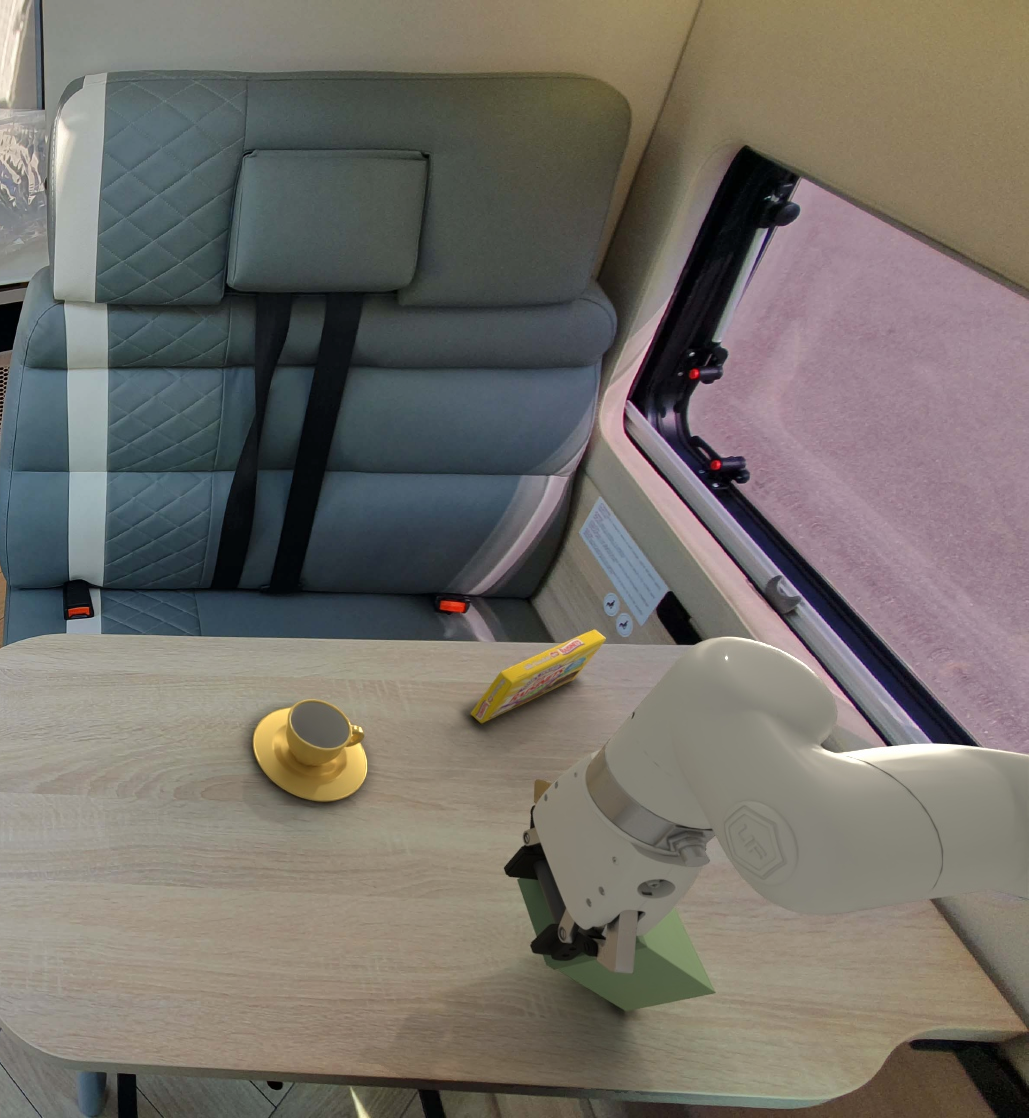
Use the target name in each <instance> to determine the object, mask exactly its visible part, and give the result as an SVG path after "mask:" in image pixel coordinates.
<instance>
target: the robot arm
mask: <svg viewBox="0 0 1029 1118" xmlns="http://www.w3.org/2000/svg"><path fill="white" fill-rule="evenodd" d="M838 712H839V711H838V707H837V702H836V699H835V696H834V694H833V693H832V691H831V689H830V688H829V687H828V685H827V684H826V683H825V681H823V679H822V678H821V677H820V676H819V674H817V673H816V672H815V671H814V670H813V669H811V668H810V667H809V666H808V665H806V664H805V663H804V662H802V661H801V660H800V659H798V658H796V657H795V656H793V655H791V654H789V653H788V652H785V651H783V650H782V649H780V648H777V647H775V646H772V645H770V644H767V643H764V642H760V641H757V640H753V639H749V638H743V637H736V636H721V637H711V638H708V639H706V640H705V639H704V640H702V641H700V642H697V643H696V644H694V645H692V646H691V647H689V648H688V649H687V650H685V651H684V652H683V653H682V655H680V656H679V658H678V659H676V661H675V662H674V663H673V664H672V665H671V667H669V669H668V670H667V671H666V672H665V674H664V675H663V676H662V677H661V678H660V679H659V681H658V682H657V683H656V684H655V685H654V687H652V689H651V690H650V691H649V692H648V694H647V695H646V696H645V697H644V698H643V699H642V700H641V701H640V703H639V704H638V705H637V706H636V708H635V709H634V710H633V711H632V713H630V715H629V716H628V718H626V720H624V722H623V723H622V724H621V726H620V727H619V728H618V729H617V730H616V731H615V733H614V734H613V735H612V737H611V738H609V739H608V740H607V741H606V743H605V744H604V745H603V746H602V747H601V749H598V750H596V751H593V752H591V753H589V754H588V755H586V756H585V757H583V758H581V759H580V760H578V761H577V762H575V763H574V764H573V765H571V766H570V767H569V768H568V769H566V770H565V771H564V772H563V773H562V774H561V775H560V776H558V778H557V779H555V780H551V779H550V780H549V779H541V778H540V779H539V778H536V779H535V780H534V783H533V785H534V788H533V803H535V804H533V805H532V806H531V808H530V811H529V812H530V821H529V823H530V824H529V829H526V830H524V831H523V832H522V842H523V845H522V846H520V848H519V849H518V850H517V852H516V853H514V855H513V856H512V857H511V858H510V860H509V861H508V862H507V863H506V864H505V865H504V867H503V871H504V873H505V875H506V876H507V877H508V878H515V879H519V878H523V879H533V880H538V877H537V874H536V871H535V869H534V863H535V862H537V861H539V860H545V859H547V861H548V863H549V866H550V868H551V871H552V874H553V876H554V879H555V881H556V884H557V886H558V889H559V891H560V894H561V896H562V899H563V901H564V904H565V906H566V910H565V912H564V915H563V917H562V920H561V922H560V924H550V925H549V926H548V927H546V928H545V929H544V930H543V931H542V932H541V933H540V934H539V935H538V936H537V937H535V938H534V939H533V940H532V941H530V945H529V947H530V949H531V953H533V954H535V955H542V956H543V955H551V957H552V959H554V960H559V961H569V960H572V959H574V958H575V957H576V956H578V955H579V954H580V953H581V952H583V953H585V954H586V955H587V956H592V957H594V958H596V959H597V961H598V962H599V963H600V964H601V965H603V966H604V967H605V968H607V969H608V970H609V971H611V972H615V973H624V974H632V973H633V968H634V956H635V945H636V936H642V935H645V934H646V933H648V932H649V931H650V930H652V929H653V928H654V927H655V926H656V925H657V924H658V923H660V922H661V921H662V920H663V919H664V918H665V917H666V916H667V915H668V914H669V913H670V912H671V911H672V909H673V908H674V907H675V908H676V906H677V905H679V903H680V902H681V900H682V899H684V897H685V896H686V895H687V894H688V892H689V891H690V889H691V888H692V886H693V885H694V883H695V882H696V880H697V878H698V877H699V875H700V873H701V871H702V869H703V867H704V866H706V865H708V864H709V863H710V862H711V859H710V857H709V855H708V854H707V852H706V851H707V843H709V842H710V841H711V840H712V839H713V838H716V839H717V841H718V843H719V845H720V847H721V849H722V851H723V852H724V854H725V855H726V857H727V859H728V860H729V862H730V864H731V865H732V866H733V868H734V869H735V871H737V873H738V874H739V876H740V877H741V878H742V879H743V880H744V881H745V882H746V883H747V884H748V885H749V886H750V887H751V888H752V889H753V891H755V892H756V893H757V894H758V895H760V896H761V897H762V898H764V899H766V901H768V902H770V903H772V904H774V905H776V906H778V907H780V908H782V909H785V910H787V911H791V912H794V913H797V914H802V915H809V916H834V915H835V916H837V915H843V914H849V913H850V914H851V913H855V912H863V911H868V910H875V909H881V908H882V909H883V908H887V907H888V908H889V907H894V906H899V905H905V904H911V903H916V902H921V901H926V900H933V899H939V898H941V899H942V898H948V897H954V896H959V895H967V894H973V893H981V892H994V893H1000V894H1005V895H1010V896H1013V897H1019V898H1022V899H1026V900H1029V754H1026V753H1019V752H1013V751H1008V750H1007V751H1006V750H1001V749H995V748H994V749H993V748H987V747H979V746H971V745H962V744H950V743H948V744H947V743H912V744H910V743H909V744H901V745H892V746H882V747H871V748H865V749H858V750H851V751H844V752H833V751H830V750H827V749H825V748H824V747H823V746H822V743H824V741H825V740H827V738H828V737H829V736H831V734H832V732H833V730H834V728H835V727H836V725H837V721H838Z"/></svg>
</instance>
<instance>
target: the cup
mask: <svg viewBox="0 0 1029 1118" xmlns="http://www.w3.org/2000/svg"><path fill="white" fill-rule="evenodd" d="M364 739H365V732H364V729H363V727H362V726H360V725H357V724H355V725H353V724H351V722H350V720H349V718H348V717H347V716H346V714H345V713H344V711H342V710H341V709H340V708H338V707H337V706H335V705H334V704H332V703H330V702H327V701H324V700H320V699H313V698H311V699H304V700H300V701H298V702H296V703H294V704H293V705H292V706H287V707H282V708H278V709H276V710H273V711H271V712H269V713H267V714H265V716H264V717H262V718H261V720H260V721H259V722H258V723H257V724H256V727H255V729H254V732H253V736H252V749H253V753H254V757H255V759H256V761H257V763H258V765H259V767H260V768H261V769H262V771H263V773H264V774H265V775H266V776H267V777H268V778H269V779H270V781H272V782H273V783H274V784H276V785H277V786H278V787H279V788H281V789H282V790H283V791H284V790H285V792H288V793H289V794H292V795H293V796H296V797H299V798H302V799H305V800H308V801H314V802H335V801H339V800H343V799H346V798H348V797H350V796H351V795H353V794H354V793H356V792H357V791H358V790H359V789H360V788H361V786H362V785H363V783H364V781H365V779H366V776H367V771H368V761H367V756H366V752H365V750H364V747H363V745H362V744H361V742H362V741H363V740H364Z"/></svg>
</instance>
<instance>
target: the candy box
mask: <svg viewBox="0 0 1029 1118" xmlns="http://www.w3.org/2000/svg"><path fill="white" fill-rule="evenodd" d="M605 641H607V637H606V636H604V635H602V634H601V632H599V631H598V630H597V629H595V628H594V629H593V630H590V631H587V632H585V633H583V634H579V635H578V636H575V637H573V638H571V639H569V640H567V641H565V642H562V643H560V644H559V645H556V646H553V647H551V648H549V649H547V650H545V651H543V652H540V653H539V654H536V655H534V656H532V657H530V658H528V659H526V660H523V661H521V662H518V663H516V664H514V665H512V666H510V667H508V668H505V669H503V670H501V671H500V672H499V673H498V675H497V676H496V677H495V679H494V680H493V682H492V683H491V684H490V686H489V687H488V689H486V691H485V692H484V694H483V695H482V697H481V698H480V700H479V701H478V702H477V704H476V705H475V707H473V709H472V711H471V712H470V715H471V716H472V717H473V718H474V719H475V720H476V721H477V722H478V723H480V724H484V723H486V722H489V721H490V720H492V719H494V718H496V717H498V716H501V715H502V714H505V713H507V712H509V711H511V710H513V709H515V708H517V707H520V706H522V705H524V704H526V703H528V702H530V701H532V700H535V699H537V698H539V697H541V696H542V695H544V694H547V693H548V692H550V691H552V690H554V689H556V688H559V687H561V686H563V685H565V684H568V683H569V682H572V681H574V680H576V678H577V677H578V675H579V674H580V673H581V672H582V670H583V669H584V668H585V666H586V665H587V664H588V663H589V662H590V661H591V659H592V658H593V657H594V655H595V654H596V653H597V652H598V651H599V649H600V648H601V647H602V645H603V644H604V643H605Z"/></svg>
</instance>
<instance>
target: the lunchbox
mask: <svg viewBox="0 0 1029 1118" xmlns="http://www.w3.org/2000/svg"><path fill="white" fill-rule="evenodd" d="M534 869H535V871H536V874H537V877H538V880H533V879H523V878H516V881H517V884H518V887H519V889H520V892H521V893H520V894H521V896H522V899H523V901H524V904H525V908H526V910H527V913H528V916H529V919H530V922H531V925H532V927H533V930H534V934H535V936H536V937H537V936H538V935H539V934H540V933H541V932H542V931H543V930H544V929H545V928H546V927H548V926H549V925H550V924H560V922H561V920H562V917H563V915H564V912H565V910H566V906H565V904H564V901H563V899H562V896H561V894H560V891H559V889H558V886H557V884H556V881H555V879H554V876H553V874H552V871H551V868H550V866H549V863H548V861H547V859H545V860H539V861H537V862H535V863H534ZM536 937H535V938H536ZM542 956H543V957H542V958H543V960H544V963H545V965H546V966H547V967H548V968H550V969H552V970H554V971H556V970H557V971H558V972H559V973H562V974H563V975H565V976H567V977H568V978H570V979H572V980H574V981H575V982H576V983H579V984H580V985H581V986H583V987H585V988H586V989H588V990H590V991H592V992H593V993H595V994H597V995H598V996H600V997H601V998H603V999H604V1000H606V1001H607V1002H609V1003H612V1004H613V1005H615V1006H616V1007H618V1008H619V1009H621V1010H623V1011H624V1012H630V1011H635V1010H639V1009H640V1010H641V1009H645V1008H650V1007H654V1006H660V1005H664V1004H669V1003H675V1002H679V1001H685V1000H690V999H694V998H698V997H704V996H709V995H714V994H716V992H717V991H716V990H715V988H714V986H713V984H712V982H711V979H710V977H709V975H708V973H707V971H706V969H705V966H704V965H703V963H702V961H701V958H700V957H699V954H698V952H697V950H696V948H695V946H694V943H693V942H692V940H691V937H690V935H689V933H688V931H687V929H686V927H685V925H684V923H683V921H682V919H681V917H680V915H679V913H678V911H677V909H676V906H675V907H674V908H673V909H672V911H671V912H670V913H669V914H668V915H667V916H666V917H665V918H664V919H663V920H662V921H661V922H660V923H658V924H657V925H656V926H655V927H654V928H653V929H652V930H650V931H649V932H648V933H646V934H645V935H642V936H636V945H635V956H634V968H633V973H632V974H624V973H615V972H611V971H609V970H608V969H607V968H605V967H604V966H603V965H601V964H600V963H599V962H598V961H597V959H596V958H594V957H592V956H587V955H586V954H585V953H583V952H581V953H580V954H579V955H578V956H576V957H575V958H574V959H572V960H569V961H559V960H554V959H552V957H551V955H543V954H542Z"/></svg>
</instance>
